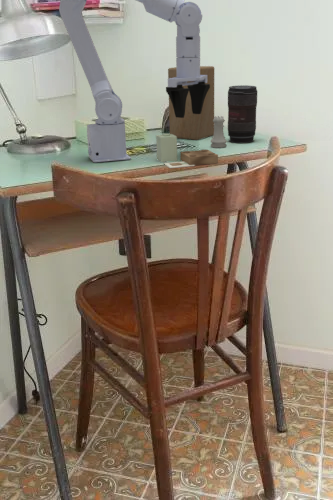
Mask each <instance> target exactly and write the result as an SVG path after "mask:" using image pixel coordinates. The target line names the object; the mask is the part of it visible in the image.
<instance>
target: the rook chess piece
mask: <svg viewBox="0 0 333 500" xmlns="http://www.w3.org/2000/svg"><path fill="white" fill-rule="evenodd" d="M225 121H226V120H225V119H224V116H222V115H220V116H219V115H217V116H215V115H214V119H213V122H214V135H212V139H211V140H210V143H211V144H210V147H211V148H212V149H224V148H226V147H227V146H228V144H226V143H227V139H226V137H225V133H224V127H225V126H224V123H225Z"/></svg>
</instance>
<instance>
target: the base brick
mask: <svg viewBox="0 0 333 500" xmlns="http://www.w3.org/2000/svg"><path fill="white" fill-rule="evenodd" d="M179 160H180V161H181V160H182V161H181V162H183V161H184V162H186V163H188V164H189V165H195V166H202V165H213V164H219V154H217V153H216V152H213V151H211V150H209V149H200V150H199V149H198V150H190V151H189V150H185V151H180V159H179Z"/></svg>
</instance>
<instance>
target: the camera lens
mask: <svg viewBox="0 0 333 500" xmlns="http://www.w3.org/2000/svg"><path fill="white" fill-rule="evenodd" d="M257 105H258V89H257V86H255V85H249V84H248V85H246V84H245V85H242V84H241V85H240V84H239V85H231V86H228V90H227V111H228V112H227V134H228V136H229V142H231V143H235V144H245V143H253V142H254V137H255V136H256V129H257Z"/></svg>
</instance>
